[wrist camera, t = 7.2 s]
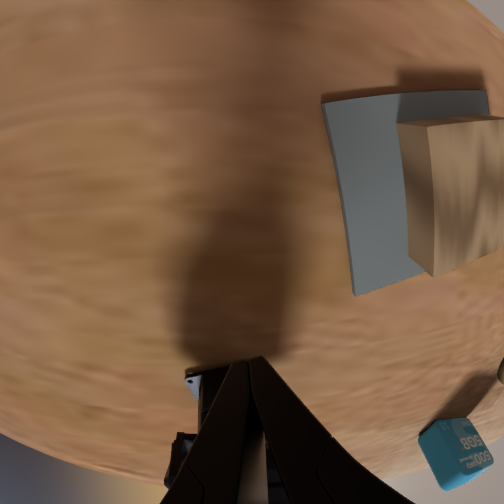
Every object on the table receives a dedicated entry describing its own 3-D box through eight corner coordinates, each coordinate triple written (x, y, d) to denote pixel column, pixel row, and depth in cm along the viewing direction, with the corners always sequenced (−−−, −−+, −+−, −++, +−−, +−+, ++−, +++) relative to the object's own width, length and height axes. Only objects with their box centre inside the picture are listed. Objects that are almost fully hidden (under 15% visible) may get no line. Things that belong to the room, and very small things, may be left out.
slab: (408, 256, 21) (486, 227, 21) (433, 277, 18) (512, 242, 18) (395, 123, 17) (483, 114, 17) (426, 126, 14) (513, 118, 14)
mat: (486, 241, 23) (490, 244, 22) (352, 292, 23) (355, 296, 22) (481, 90, 17) (486, 90, 16) (320, 103, 17) (324, 103, 16)
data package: (467, 416, 38) (496, 462, 27) (451, 432, 39) (477, 478, 29) (432, 419, 35) (464, 477, 24) (414, 437, 37) (441, 493, 26)
